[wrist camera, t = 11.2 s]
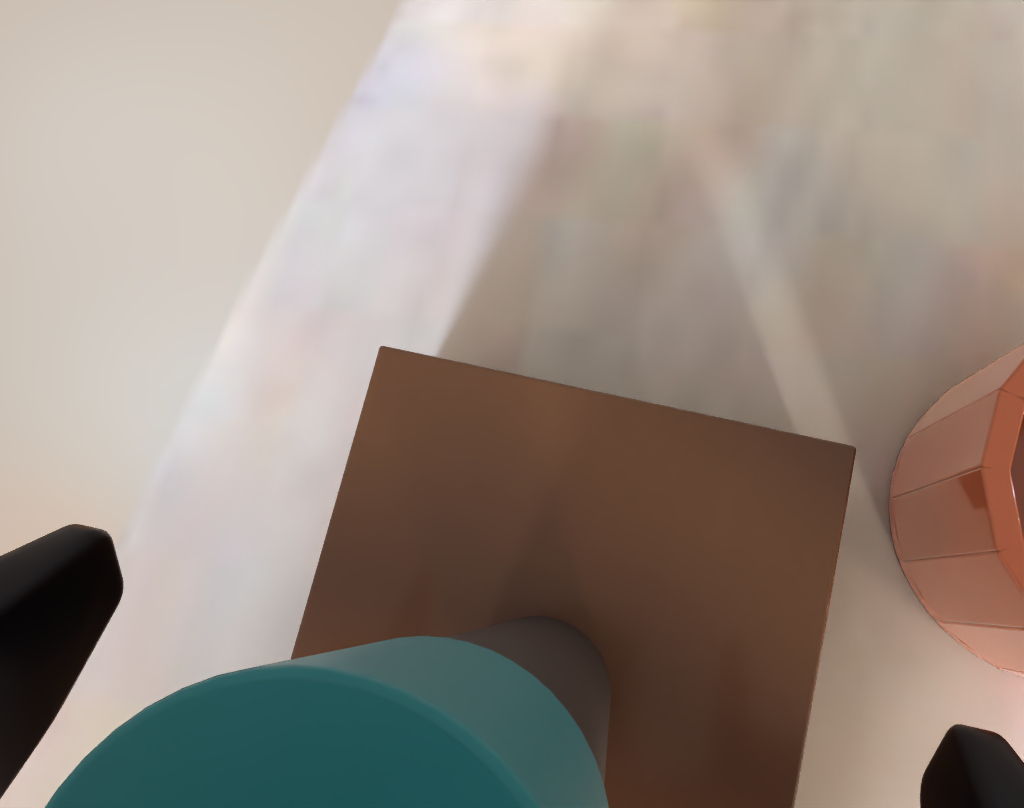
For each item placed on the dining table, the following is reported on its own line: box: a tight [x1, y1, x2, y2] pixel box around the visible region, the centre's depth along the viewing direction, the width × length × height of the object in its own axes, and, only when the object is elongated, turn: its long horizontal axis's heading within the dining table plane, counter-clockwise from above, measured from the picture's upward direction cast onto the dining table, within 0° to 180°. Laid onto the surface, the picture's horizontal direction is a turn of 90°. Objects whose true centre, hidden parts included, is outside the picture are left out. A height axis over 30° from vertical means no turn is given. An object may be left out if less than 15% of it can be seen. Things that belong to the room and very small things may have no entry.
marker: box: [45, 616, 611, 808], centre depth 10 cm, size 3×3×13 cm
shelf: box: [291, 346, 856, 808], centre depth 18 cm, size 12×10×4 cm
